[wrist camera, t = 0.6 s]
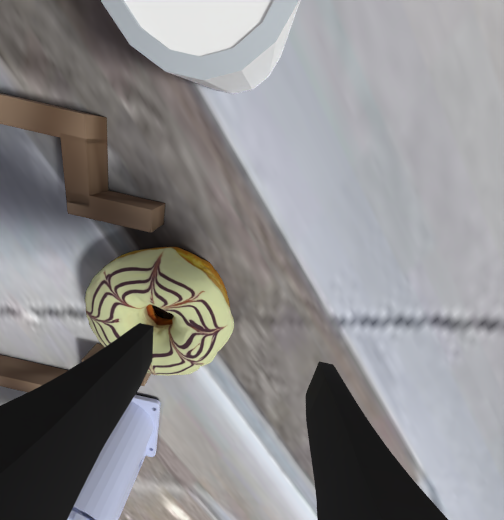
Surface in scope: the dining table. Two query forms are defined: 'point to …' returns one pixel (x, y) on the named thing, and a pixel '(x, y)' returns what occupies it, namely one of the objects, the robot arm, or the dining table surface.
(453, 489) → the dining table surface
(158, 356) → the decorated donut
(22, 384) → the frame
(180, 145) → the dining table surface
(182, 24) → the white cylinder
